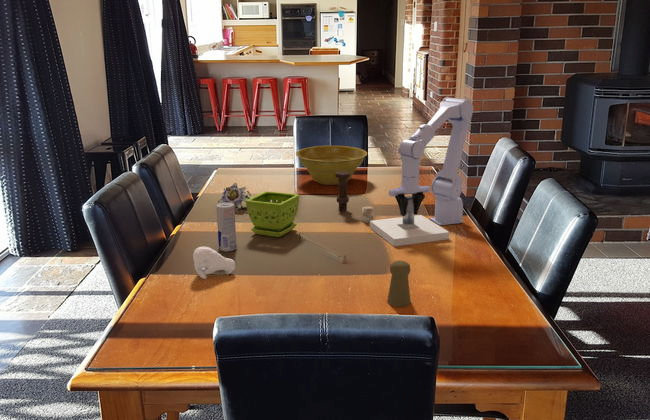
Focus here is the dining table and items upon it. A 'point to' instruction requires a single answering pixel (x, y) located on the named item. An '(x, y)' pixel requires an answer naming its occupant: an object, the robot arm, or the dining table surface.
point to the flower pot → (273, 213)
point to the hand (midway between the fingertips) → (408, 214)
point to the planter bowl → (330, 161)
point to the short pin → (367, 214)
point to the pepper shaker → (399, 284)
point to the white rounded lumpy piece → (211, 262)
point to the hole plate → (409, 231)
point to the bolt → (342, 190)
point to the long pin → (409, 211)
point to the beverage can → (226, 226)
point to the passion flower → (234, 195)
